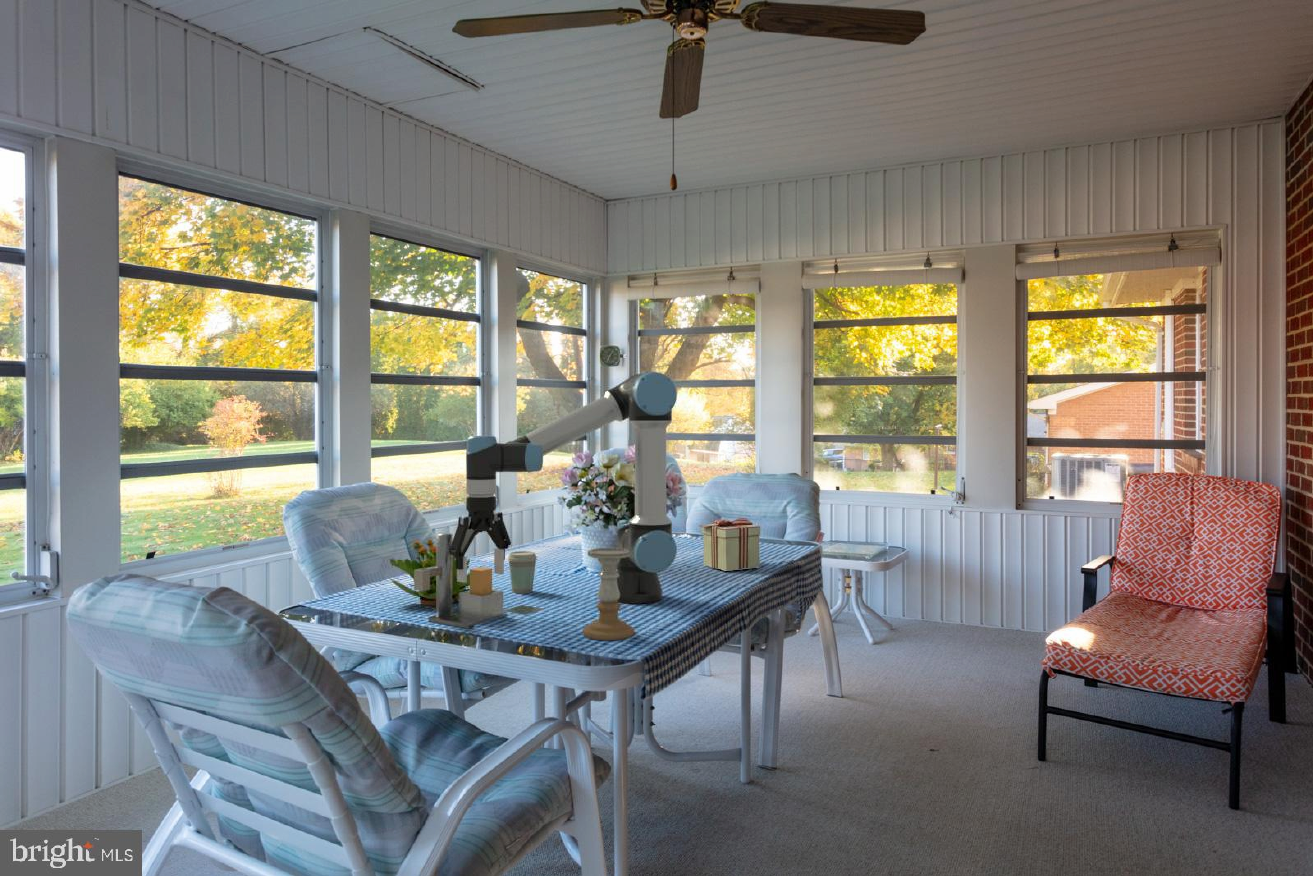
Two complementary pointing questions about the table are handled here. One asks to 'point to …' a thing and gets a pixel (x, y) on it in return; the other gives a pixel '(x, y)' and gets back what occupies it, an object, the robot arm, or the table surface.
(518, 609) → the plate
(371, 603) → the table surface
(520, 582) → the coffee cup
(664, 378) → the robot arm
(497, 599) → the grey post stand
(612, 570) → the candle holder
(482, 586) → the tan rectangular bar
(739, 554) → the gift box
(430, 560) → the potted flower
